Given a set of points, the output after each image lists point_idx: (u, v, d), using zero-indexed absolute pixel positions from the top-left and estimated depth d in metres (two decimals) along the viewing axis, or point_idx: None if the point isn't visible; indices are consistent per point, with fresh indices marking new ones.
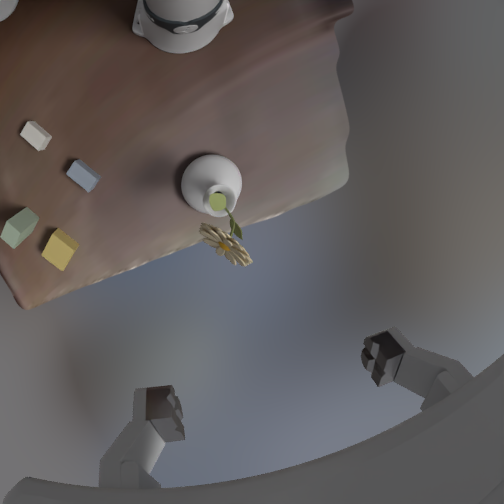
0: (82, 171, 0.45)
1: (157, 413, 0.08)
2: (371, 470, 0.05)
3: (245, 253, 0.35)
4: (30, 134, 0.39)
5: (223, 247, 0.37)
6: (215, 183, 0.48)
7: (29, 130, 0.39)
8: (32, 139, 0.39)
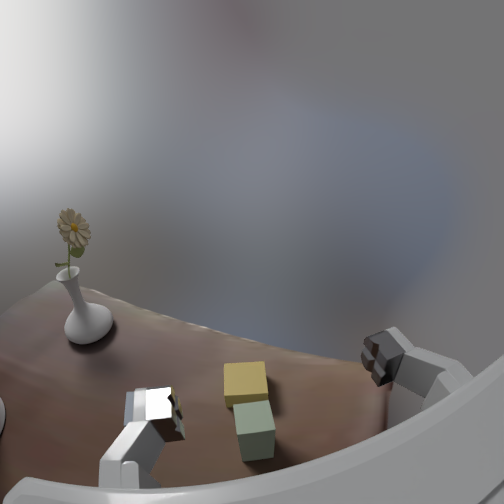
0: (129, 410, 0.34)
1: (157, 413, 0.08)
2: (371, 470, 0.05)
3: None
4: None
5: (74, 225, 0.44)
6: (74, 305, 0.48)
7: None
8: None
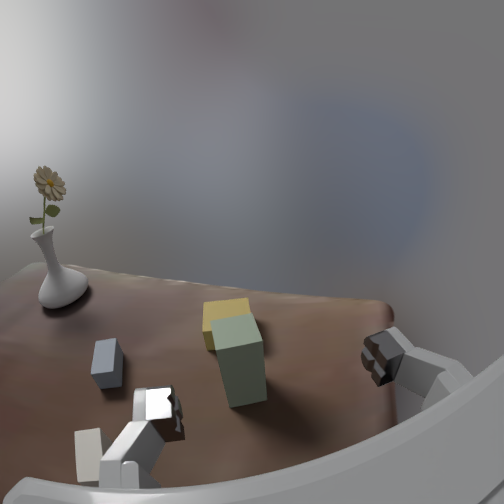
0: (97, 358, 0.30)
1: (157, 413, 0.08)
2: (371, 470, 0.05)
3: None
4: (89, 460, 0.18)
5: (49, 180, 0.40)
6: (48, 268, 0.44)
7: (86, 467, 0.17)
8: (92, 450, 0.19)
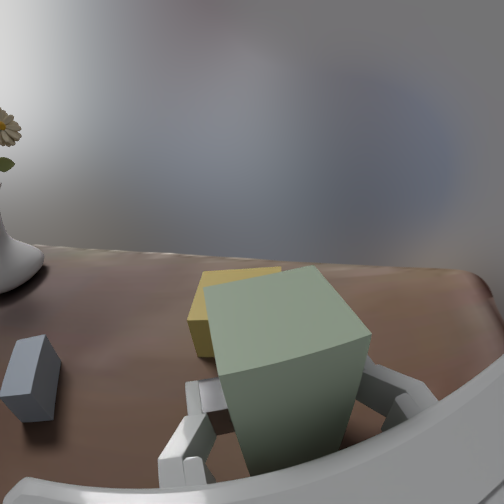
0: (12, 369, 0.13)
1: (214, 405, 0.09)
2: (371, 470, 0.05)
3: None
4: None
5: (1, 122, 0.24)
6: None
7: None
8: None
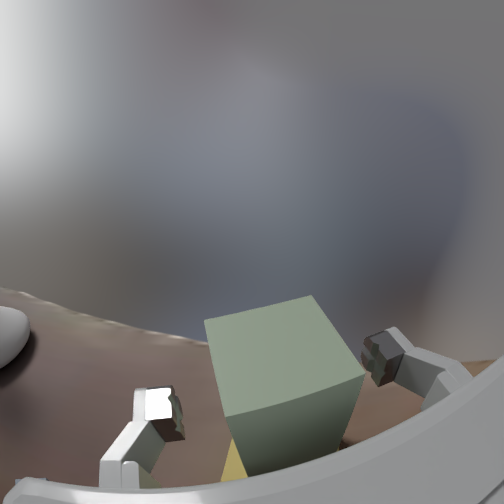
0: None
1: (157, 413, 0.08)
2: (371, 470, 0.05)
3: None
4: None
5: None
6: None
7: None
8: None
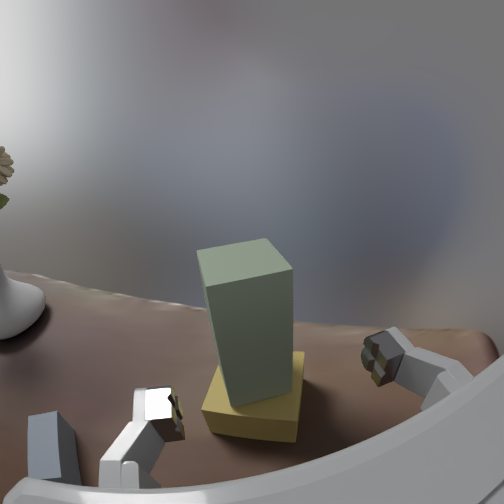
0: (34, 449, 0.12)
1: (157, 413, 0.08)
2: (371, 470, 0.05)
3: None
4: None
5: None
6: None
7: None
8: None
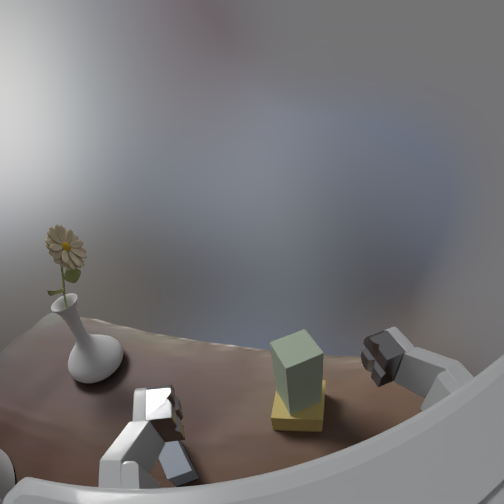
0: (165, 459, 0.25)
1: (157, 413, 0.08)
2: (371, 470, 0.05)
3: None
4: None
5: (65, 244, 0.36)
6: None
7: None
8: None
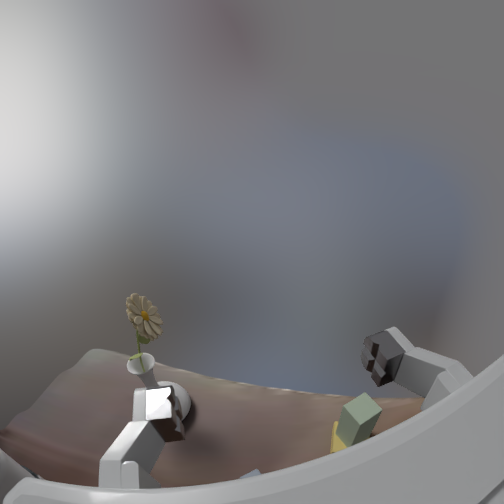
0: None
1: (157, 413, 0.08)
2: (370, 470, 0.05)
3: (132, 297, 0.42)
4: None
5: (144, 314, 0.42)
6: None
7: None
8: None
